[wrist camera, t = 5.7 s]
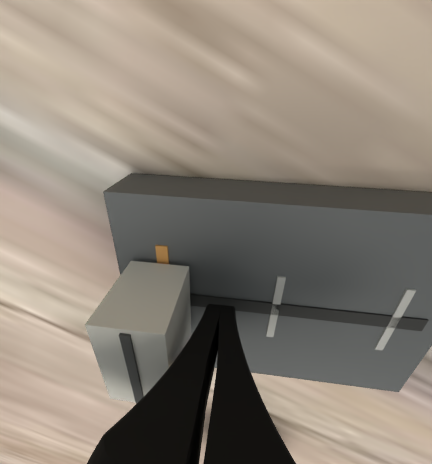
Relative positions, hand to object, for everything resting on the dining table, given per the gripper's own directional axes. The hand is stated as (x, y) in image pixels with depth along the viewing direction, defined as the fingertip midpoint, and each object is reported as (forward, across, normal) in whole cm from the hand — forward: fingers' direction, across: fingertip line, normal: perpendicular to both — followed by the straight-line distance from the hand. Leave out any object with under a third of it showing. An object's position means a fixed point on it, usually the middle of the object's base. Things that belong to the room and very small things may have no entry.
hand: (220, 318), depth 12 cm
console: (+4, -3, 0) cm, 5 cm away
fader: (+1, +3, 0) cm, 3 cm away
